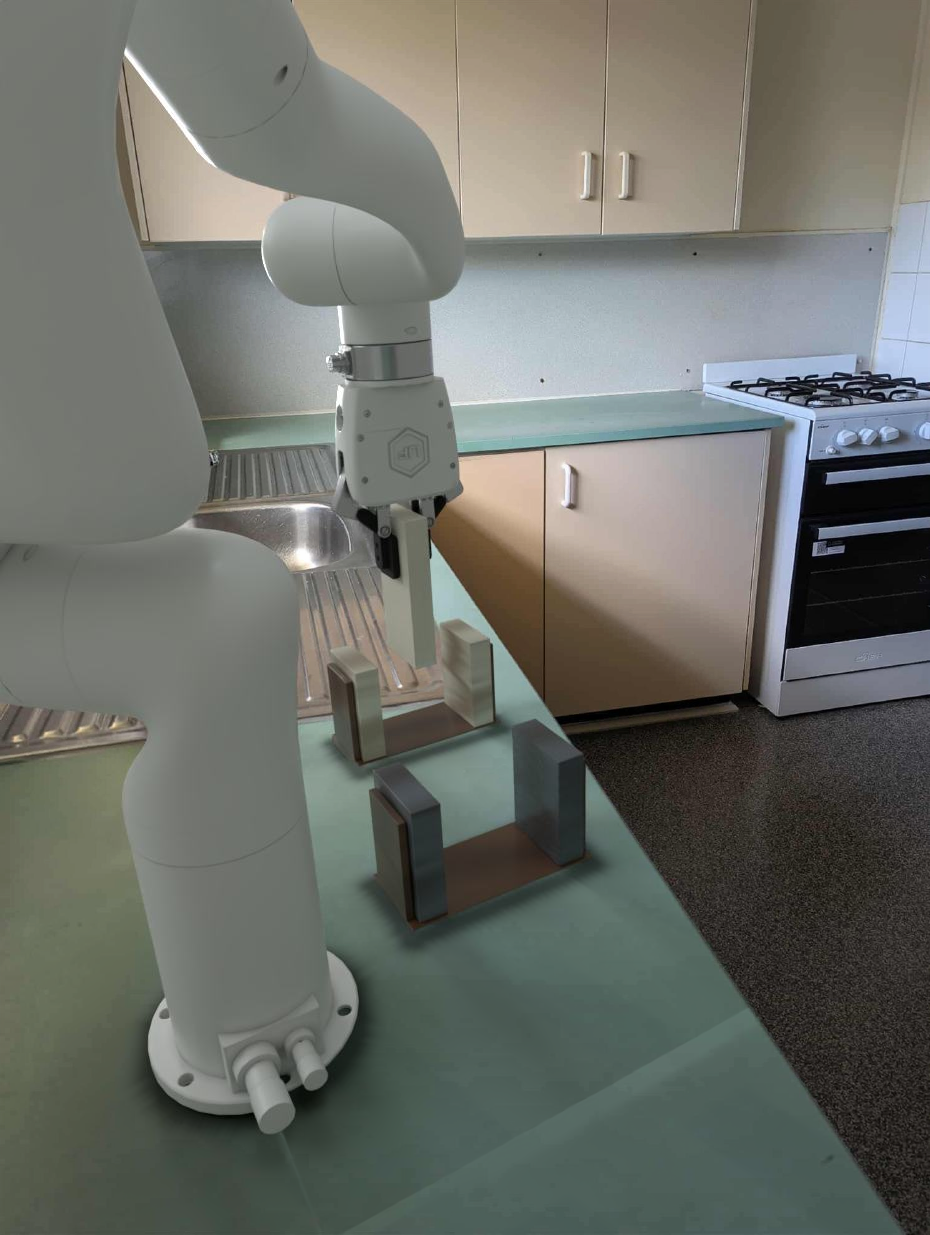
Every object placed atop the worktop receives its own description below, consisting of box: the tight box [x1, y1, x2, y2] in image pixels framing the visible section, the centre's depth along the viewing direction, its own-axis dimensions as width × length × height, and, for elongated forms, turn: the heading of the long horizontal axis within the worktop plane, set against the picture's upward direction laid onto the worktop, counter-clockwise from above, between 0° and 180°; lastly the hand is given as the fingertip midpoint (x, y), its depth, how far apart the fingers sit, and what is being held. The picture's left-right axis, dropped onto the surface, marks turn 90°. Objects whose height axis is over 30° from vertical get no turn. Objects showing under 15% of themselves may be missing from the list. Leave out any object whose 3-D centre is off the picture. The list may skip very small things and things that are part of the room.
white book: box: [380, 504, 437, 670], centre depth 81 cm, size 6×2×14 cm, turn 29°
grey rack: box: [368, 718, 594, 932], centre depth 64 cm, size 7×15×10 cm, turn 119°
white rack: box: [326, 617, 501, 767], centre depth 85 cm, size 7×15×10 cm, turn 119°
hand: (404, 570), depth 80 cm, fingers closed on white book, 2 cm apart
